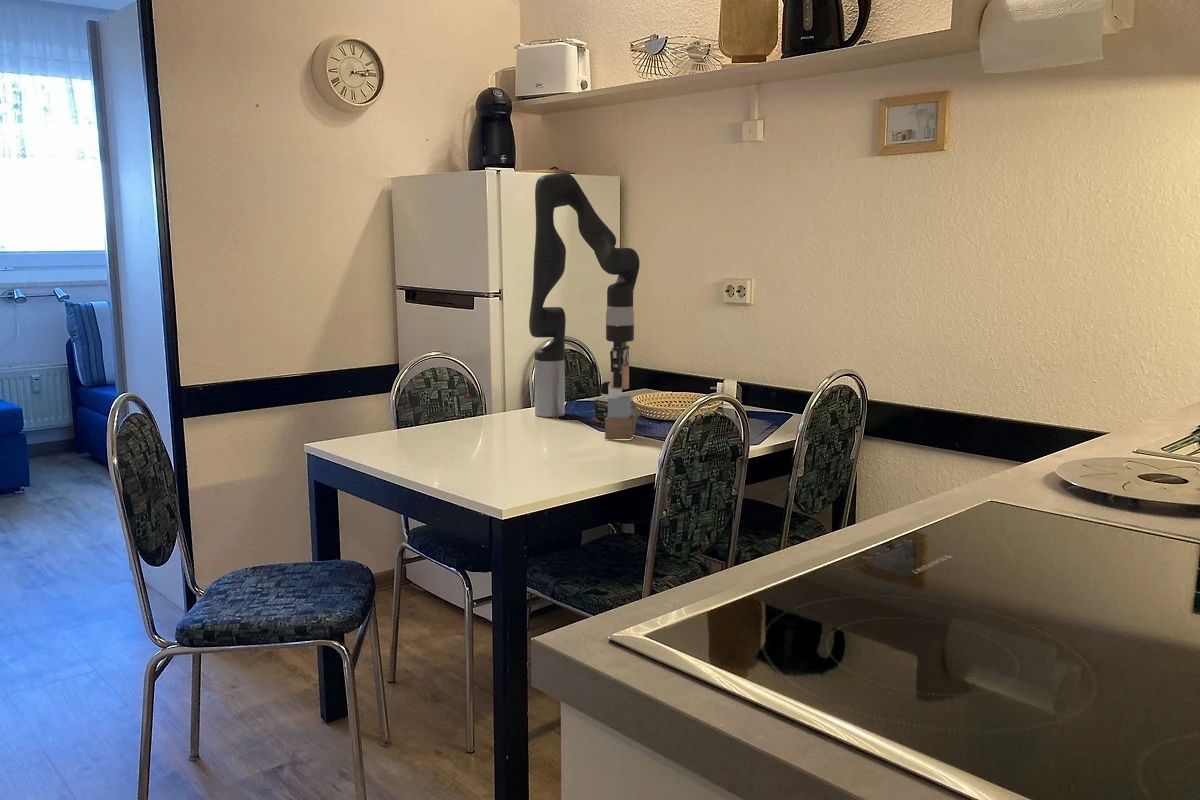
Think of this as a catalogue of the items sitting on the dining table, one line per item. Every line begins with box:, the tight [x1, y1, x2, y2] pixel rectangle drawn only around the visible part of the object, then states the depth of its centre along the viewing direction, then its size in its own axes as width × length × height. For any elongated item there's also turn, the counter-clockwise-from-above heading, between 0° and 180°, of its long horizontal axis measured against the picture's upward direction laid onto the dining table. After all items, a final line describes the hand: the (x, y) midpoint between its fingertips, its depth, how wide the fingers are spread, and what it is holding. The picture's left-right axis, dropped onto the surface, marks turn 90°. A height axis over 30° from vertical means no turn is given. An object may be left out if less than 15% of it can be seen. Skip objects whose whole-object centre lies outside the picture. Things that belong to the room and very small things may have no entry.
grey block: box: [608, 394, 632, 419], centre depth 257 cm, size 6×6×6 cm
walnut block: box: [604, 414, 636, 440], centre depth 258 cm, size 7×7×6 cm
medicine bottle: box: [594, 381, 623, 422], centre depth 280 cm, size 7×7×12 cm
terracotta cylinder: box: [609, 365, 630, 390], centre depth 256 cm, size 5×5×6 cm
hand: (619, 385), depth 256 cm, fingers closed on terracotta cylinder, 5 cm apart
